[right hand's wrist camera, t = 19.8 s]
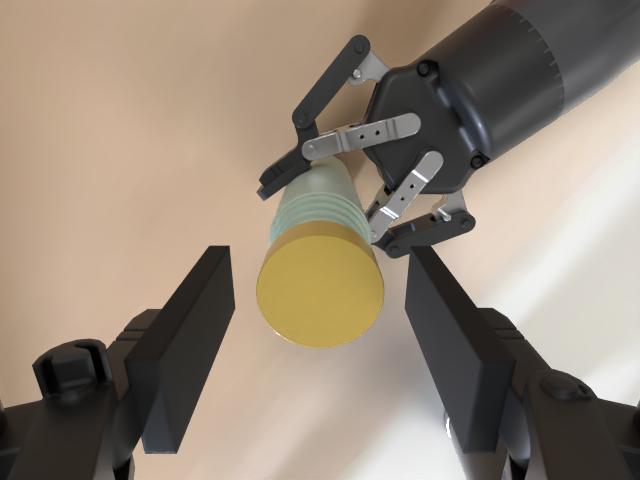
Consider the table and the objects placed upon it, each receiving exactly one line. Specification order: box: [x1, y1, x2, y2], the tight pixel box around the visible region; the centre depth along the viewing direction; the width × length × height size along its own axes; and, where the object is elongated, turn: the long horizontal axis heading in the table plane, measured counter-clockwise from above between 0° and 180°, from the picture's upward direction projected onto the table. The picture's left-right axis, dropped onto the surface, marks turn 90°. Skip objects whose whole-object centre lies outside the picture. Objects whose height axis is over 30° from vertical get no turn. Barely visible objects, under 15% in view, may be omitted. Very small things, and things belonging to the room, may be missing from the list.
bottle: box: [269, 155, 371, 247], centre depth 22 cm, size 5×5×18 cm
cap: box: [256, 221, 384, 348], centre depth 14 cm, size 4×4×2 cm
